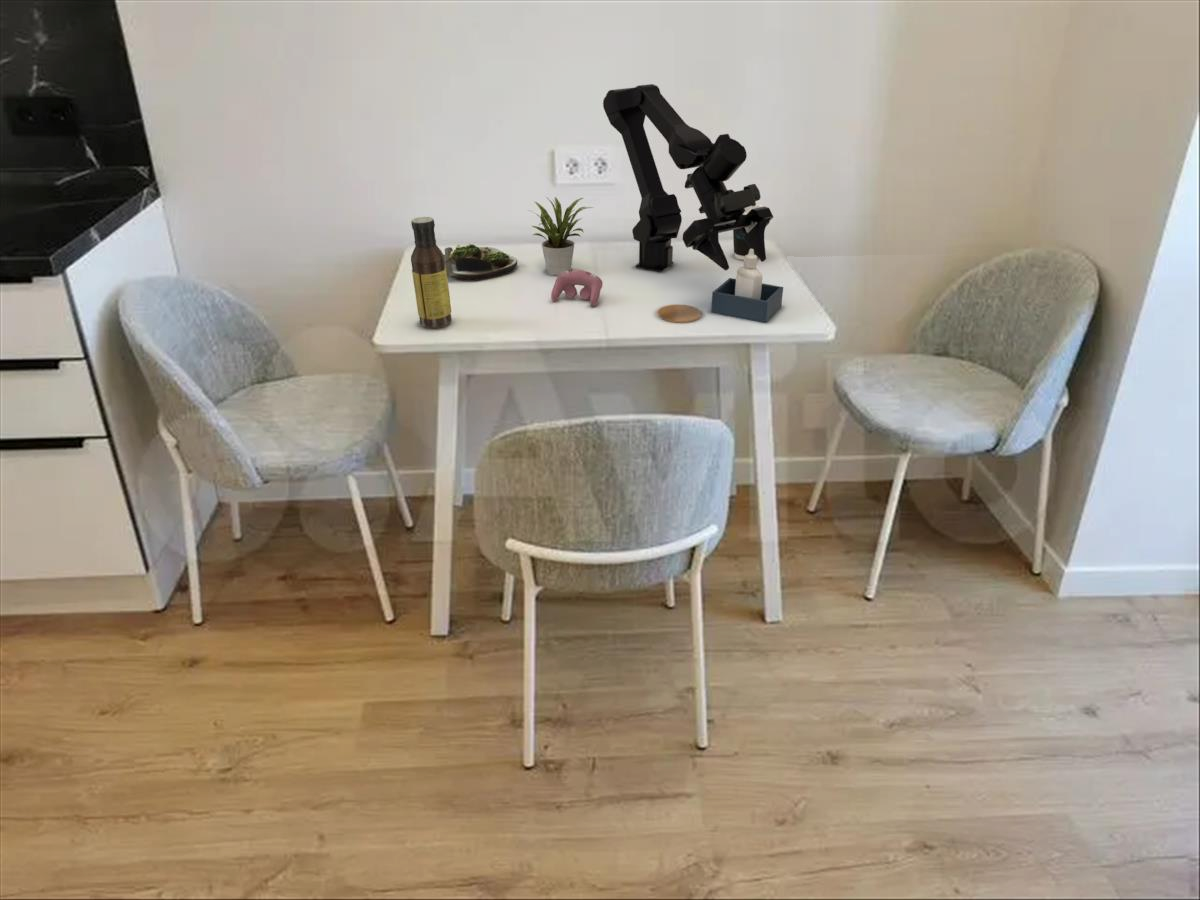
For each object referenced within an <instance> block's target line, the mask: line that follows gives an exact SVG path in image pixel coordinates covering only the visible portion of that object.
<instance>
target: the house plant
mask: <svg viewBox="0 0 1200 900" xmlns="http://www.w3.org/2000/svg"><path fill="white" fill-rule="evenodd" d="M546 199H547V200H548V201H549V202H550V204H551V205H552V209H553V211H554V215H555V221H556V223H554V220H553V219H552V217H551V215H550V214H549V212H548V211H547V209H546V208H545V207H544V206H542V205H541V204H540V203H538V202H537V201H534V203H535V204H536V206H538V209H539V210H540V215H539V214H538V213H536V212H534V214H536V216H537V217H539V218H540V222H541V223H539V224H538V225H539V226H537V225H531V227H532V228H535V229H537V230H538V231H540V232H541V233H544V234H545V235H546V236H547V238H546V236H544V235H543V234H541V233H539V232H535V233H533V234H532V236H538V237H541V238H543V239H545V240H544V241H542V243H541V248H542V254H543V258H544V263H545V269H546V273H547V274H548V275H551V276H559V275H560V274H561V273H562V272H563V271H570V270H572V264H573V257H574V249H575V242H574V241H573V240H571V239H568V238H569V237H581V234H579V233H578V231H581V232H582V233H583V234H585V233H584V229H583V228H582V227H577V228H575V229H573V228H574V226H575V225H576V224H577V223H578V222H579V221H580V220H582V219H583V217H582V218H577V219H575V218H576V216H577V214H578V213H580V212H581V211H584V210H586V209H594V208H595V207H594V206H593V207H592V206H582V207H578V209H574V207H575V206H576V205H577V204H578V202H580V201H581V200H583V199H584V197H580V198H578V199H576V200H574V201H573V202H572V203H571V204H570V205H569V206H567V208H566V209H565V211H564V214H563V212H562V211H563V210H562V204H561V202H560V201H559V199H558V198H557V197H556V196H554V199H552V200H550V198H549V197H546ZM575 210H576V211H575ZM527 211H529V212H532V213H533V210H528V209H527ZM574 211H575V212H574ZM573 212H574V213H573ZM574 219H575V220H574ZM540 226H543V227H540ZM572 229H573V230H572ZM576 231H577V233H575V232H576ZM573 232H574V233H573Z"/></svg>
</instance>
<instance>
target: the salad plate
mask: <svg viewBox="0 0 1200 900" xmlns="http://www.w3.org/2000/svg"><path fill="white" fill-rule="evenodd" d="M443 255H444V260H445V264H446V273H447V276H450V277H451V278H453V279H455V280H458V281H464V282H465V281H466V282H473V281H475V282H476V281H484V280H488V279H493V278H497V277H502V276H505V275H507V274H509V273H511V272H513V271H514V270H515V268H516V267H517V265H518V258H517V257H515V256H514V255H511V254H509V253H506V252H505V251H504V250H500V249H498V248H496V247H490V246H477V245H476V244H472V243H469V245H468V244H466V245H464V246H460V244H457V245H456V246H455V249H453V247H452V246H451V247H449V246H448V247H445V248H444V254H443Z"/></svg>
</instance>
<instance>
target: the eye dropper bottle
mask: <svg viewBox="0 0 1200 900" xmlns="http://www.w3.org/2000/svg"><path fill="white" fill-rule="evenodd" d="M757 266H758V257H757V256H756V255H754V250H753V249H750V250H749V254H748V255H745V257H744V260H743V266H739V267H738V268H737V269H736V273H735V274H736V275H735V279H736V285H735V295H736V296H742V297H747V298H753V299H759V300H760V299H761V288H762V284H763V274H762V272H761V271H760V270H759V269H758V267H757Z"/></svg>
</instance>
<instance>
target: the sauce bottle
mask: <svg viewBox="0 0 1200 900" xmlns="http://www.w3.org/2000/svg"><path fill="white" fill-rule="evenodd" d="M410 222H411V223H410V224H411V228H412V231H413V237H414V245H415V247H414V248H413V251H412V253H411V256H410V264H411V274H412V280H413V289H414V294H415V295H414V296H415V301H416V309H417V314H418V317H419V324H420V326H421V327H423V328H426V329H439V328H443V327H445V326H447V325H449V324H450V323H451V322H452V305H451V296H450V287H449V280H448V275H447V273H446V264H445V260H444V255H445V254H444V253H443V251H442V250H441V248H439V246H438V245H437V239H436V233H435V226H436V224H435V220H434V218H433V217H430V216H421V217H420V216H419V217H415V218H412V219H411V221H410Z"/></svg>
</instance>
